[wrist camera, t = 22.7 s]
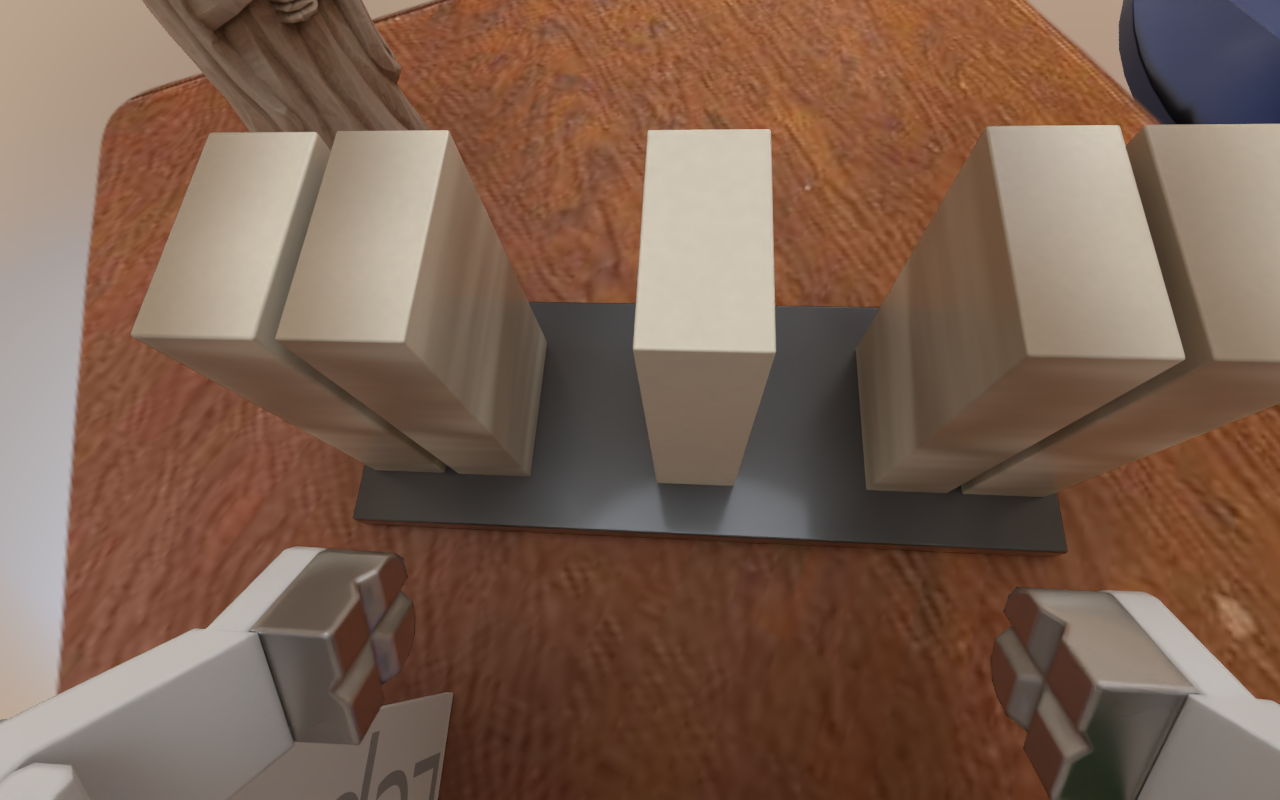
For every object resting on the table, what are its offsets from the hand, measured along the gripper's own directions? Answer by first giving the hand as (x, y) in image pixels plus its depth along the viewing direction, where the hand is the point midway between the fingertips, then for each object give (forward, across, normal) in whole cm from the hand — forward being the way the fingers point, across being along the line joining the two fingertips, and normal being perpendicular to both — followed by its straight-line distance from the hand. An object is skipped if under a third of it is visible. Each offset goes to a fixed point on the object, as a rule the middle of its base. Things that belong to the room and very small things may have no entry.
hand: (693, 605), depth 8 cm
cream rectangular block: (+16, 0, +5) cm, 17 cm away
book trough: (+17, 0, +6) cm, 18 cm away
